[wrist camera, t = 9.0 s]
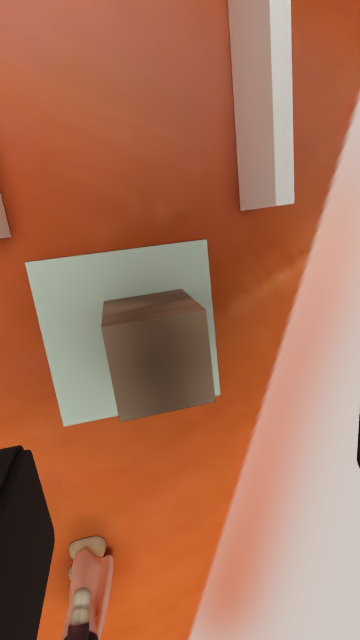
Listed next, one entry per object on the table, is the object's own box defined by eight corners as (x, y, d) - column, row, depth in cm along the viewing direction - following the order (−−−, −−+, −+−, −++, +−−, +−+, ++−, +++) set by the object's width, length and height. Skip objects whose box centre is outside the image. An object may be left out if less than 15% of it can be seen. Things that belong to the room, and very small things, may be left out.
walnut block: (181, 288, 22) (206, 309, 16) (190, 360, 24) (215, 401, 18) (103, 301, 21) (101, 327, 16) (117, 373, 23) (119, 422, 17)
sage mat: (205, 239, 22) (206, 239, 22) (218, 392, 25) (220, 394, 25) (26, 262, 20) (24, 262, 20) (64, 423, 23) (63, 426, 23)
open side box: (240, -89, 18) (286, -203, 13) (255, 209, 22) (294, 203, 17) (-95, -99, 16) (-185, -243, 11) (-8, 239, 20) (-45, 242, 15)
